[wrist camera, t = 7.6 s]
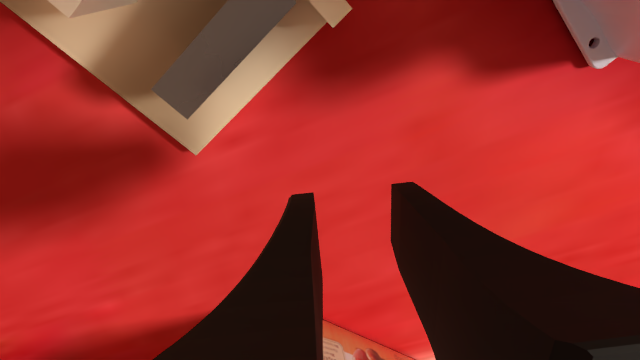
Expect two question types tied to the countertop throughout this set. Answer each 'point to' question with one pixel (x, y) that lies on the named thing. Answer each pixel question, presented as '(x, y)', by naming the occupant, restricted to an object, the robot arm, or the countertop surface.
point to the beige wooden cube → (87, 6)
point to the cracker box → (353, 346)
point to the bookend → (218, 51)
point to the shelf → (173, 53)
